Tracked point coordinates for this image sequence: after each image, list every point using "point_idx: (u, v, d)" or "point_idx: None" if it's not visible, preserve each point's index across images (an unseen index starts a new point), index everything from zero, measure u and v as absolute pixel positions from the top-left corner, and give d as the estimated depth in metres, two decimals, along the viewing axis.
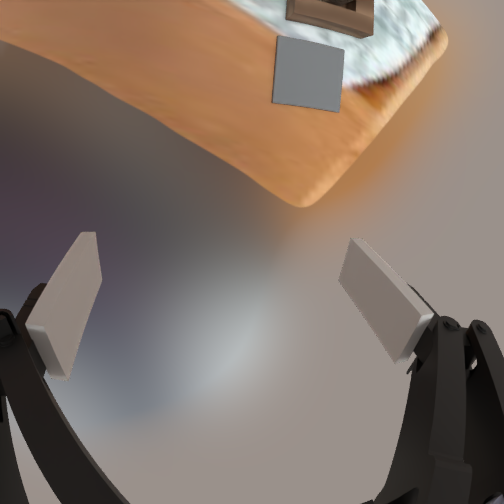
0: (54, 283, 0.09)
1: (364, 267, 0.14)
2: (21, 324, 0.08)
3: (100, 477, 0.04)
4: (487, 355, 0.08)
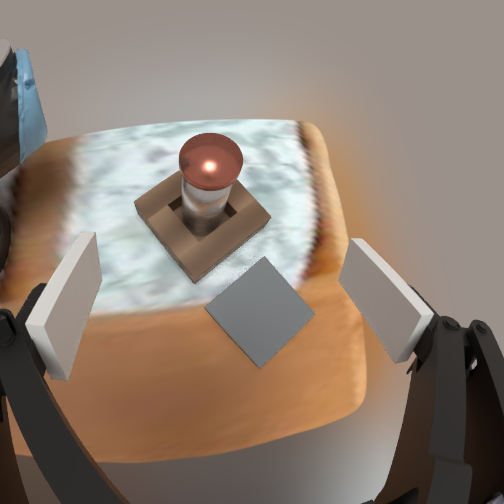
0: (54, 283, 0.09)
1: (364, 267, 0.14)
2: (21, 324, 0.08)
3: (100, 477, 0.04)
4: (487, 355, 0.08)
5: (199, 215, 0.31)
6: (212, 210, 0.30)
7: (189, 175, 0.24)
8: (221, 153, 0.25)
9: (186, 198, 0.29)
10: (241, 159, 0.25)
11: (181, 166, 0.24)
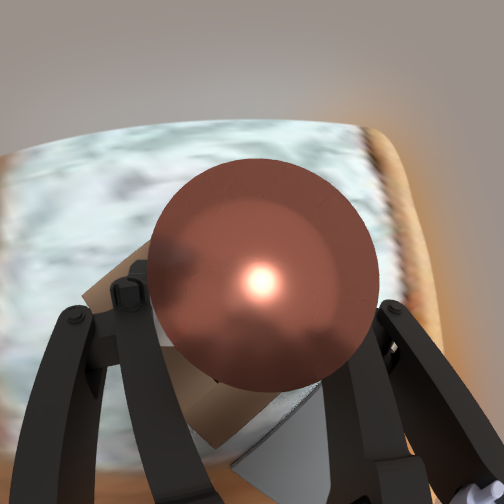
0: None
1: None
2: None
3: (196, 452, 0.05)
4: (410, 341, 0.09)
5: None
6: None
7: (194, 355, 0.06)
8: (310, 244, 0.07)
9: None
10: (374, 265, 0.07)
11: (159, 312, 0.06)
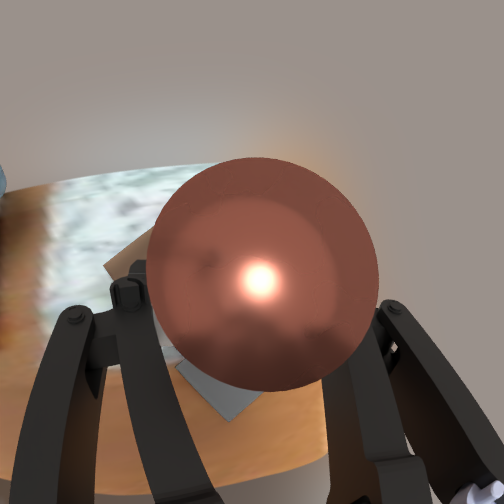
0: None
1: None
2: None
3: (196, 452, 0.05)
4: (410, 341, 0.09)
5: None
6: None
7: (193, 355, 0.06)
8: (309, 243, 0.07)
9: None
10: (373, 264, 0.07)
11: (158, 311, 0.06)
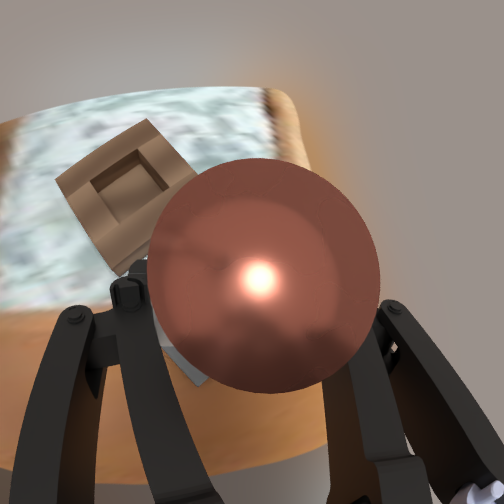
0: None
1: None
2: None
3: (196, 452, 0.05)
4: (410, 341, 0.09)
5: None
6: None
7: (194, 356, 0.06)
8: (311, 244, 0.07)
9: None
10: (374, 265, 0.07)
11: (159, 313, 0.06)
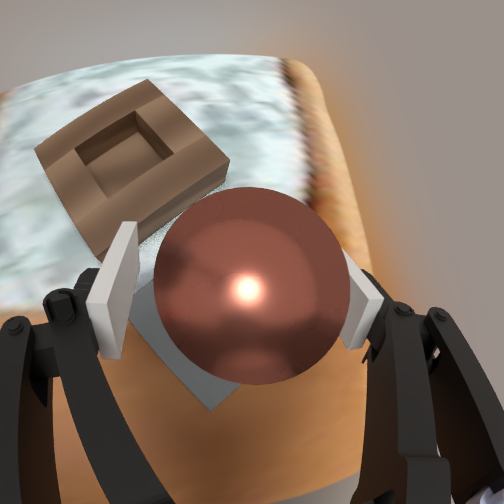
0: (108, 266, 0.10)
1: None
2: None
3: (146, 461, 0.05)
4: (451, 345, 0.08)
5: None
6: None
7: (192, 353, 0.07)
8: (289, 262, 0.08)
9: None
10: (346, 278, 0.09)
11: (163, 319, 0.07)
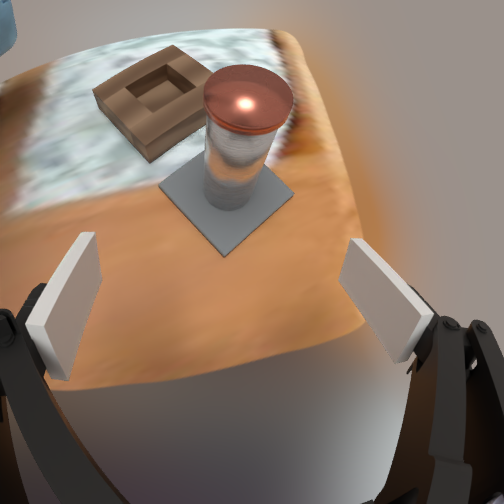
0: (54, 283, 0.09)
1: (364, 267, 0.14)
2: (22, 324, 0.08)
3: (100, 477, 0.04)
4: (487, 355, 0.08)
5: (230, 179, 0.23)
6: (248, 170, 0.22)
7: (220, 113, 0.16)
8: (262, 87, 0.17)
9: (212, 154, 0.21)
10: (290, 95, 0.17)
11: (207, 102, 0.16)
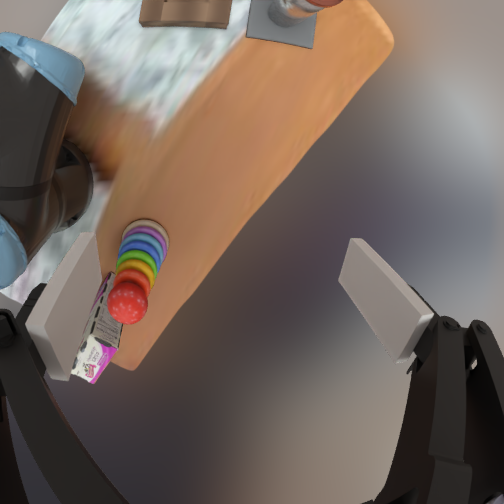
0: (54, 283, 0.09)
1: (364, 267, 0.14)
2: (21, 324, 0.08)
3: (100, 477, 0.04)
4: (487, 355, 0.08)
5: (309, 16, 0.28)
6: None
7: (323, 3, 0.22)
8: None
9: (303, 12, 0.26)
10: None
11: (313, 0, 0.21)
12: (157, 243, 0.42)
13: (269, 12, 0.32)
